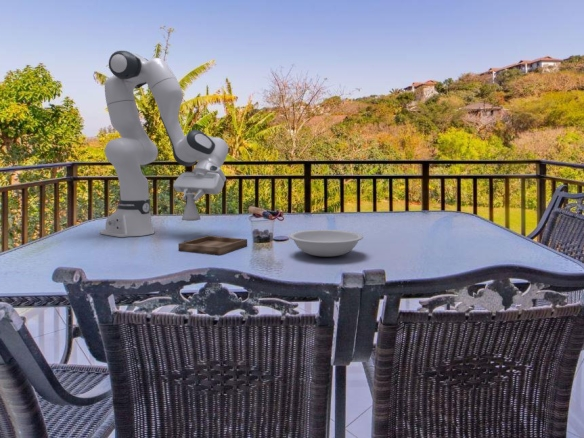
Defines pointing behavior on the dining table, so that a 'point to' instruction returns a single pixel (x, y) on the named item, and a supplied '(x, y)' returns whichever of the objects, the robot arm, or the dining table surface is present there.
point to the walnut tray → (212, 245)
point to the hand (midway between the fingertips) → (189, 199)
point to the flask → (190, 209)
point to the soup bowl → (325, 241)
